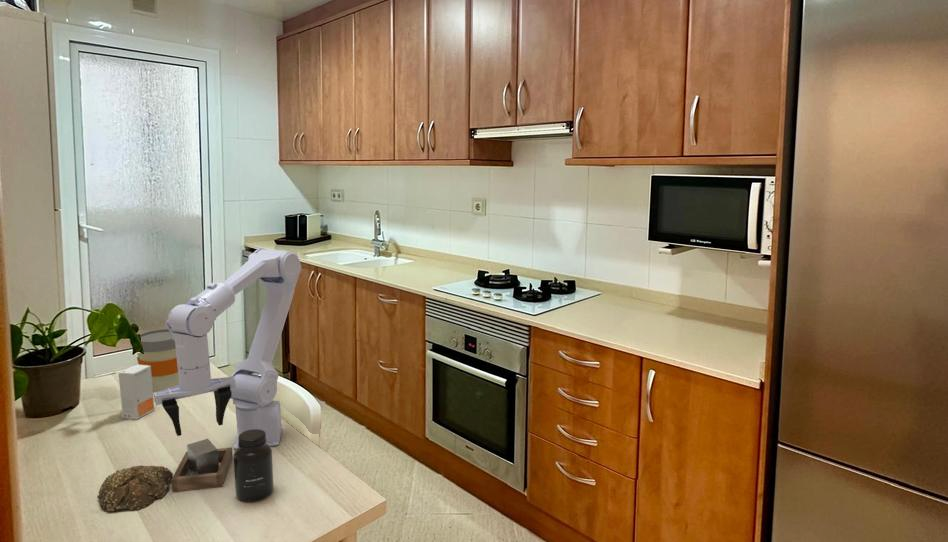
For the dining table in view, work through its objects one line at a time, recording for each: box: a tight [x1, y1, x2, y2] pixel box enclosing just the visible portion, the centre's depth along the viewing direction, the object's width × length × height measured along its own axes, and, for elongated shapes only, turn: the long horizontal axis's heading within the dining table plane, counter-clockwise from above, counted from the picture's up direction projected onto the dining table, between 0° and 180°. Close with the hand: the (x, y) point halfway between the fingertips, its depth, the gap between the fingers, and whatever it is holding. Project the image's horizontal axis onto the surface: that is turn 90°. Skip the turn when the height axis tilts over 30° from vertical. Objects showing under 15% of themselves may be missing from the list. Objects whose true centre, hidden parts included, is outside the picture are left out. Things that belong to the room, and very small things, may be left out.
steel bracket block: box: [186, 438, 220, 475], centre depth 115 cm, size 6×4×6 cm, turn 42°
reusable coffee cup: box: [136, 328, 179, 394], centre depth 158 cm, size 13×13×15 cm
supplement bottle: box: [233, 429, 274, 503], centre depth 108 cm, size 7×7×12 cm
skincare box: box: [118, 363, 156, 421], centre depth 141 cm, size 6×4×12 cm
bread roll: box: [97, 465, 174, 513], centre depth 108 cm, size 13×12×5 cm
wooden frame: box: [170, 447, 234, 493], centre depth 115 cm, size 9×11×2 cm
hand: (199, 428), depth 115 cm, fingers open, 7 cm apart
